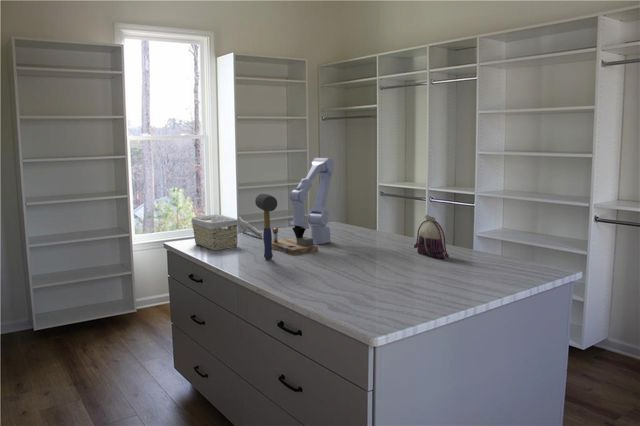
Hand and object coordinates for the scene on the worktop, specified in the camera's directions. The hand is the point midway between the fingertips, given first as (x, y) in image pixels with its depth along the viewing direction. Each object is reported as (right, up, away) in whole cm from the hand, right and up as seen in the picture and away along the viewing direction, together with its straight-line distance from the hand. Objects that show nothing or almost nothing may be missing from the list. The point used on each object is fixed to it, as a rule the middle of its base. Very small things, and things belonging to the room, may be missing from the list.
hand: (299, 241), depth 275 cm
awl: (-12, -1, +4) cm, 13 cm away
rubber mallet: (-13, -7, -23) cm, 27 cm away
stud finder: (+3, -1, -4) cm, 5 cm away
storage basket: (-44, -3, +12) cm, 45 cm away
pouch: (+60, -6, -24) cm, 65 cm away
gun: (-30, +1, +40) cm, 49 cm away
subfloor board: (-4, -4, -1) cm, 5 cm away
